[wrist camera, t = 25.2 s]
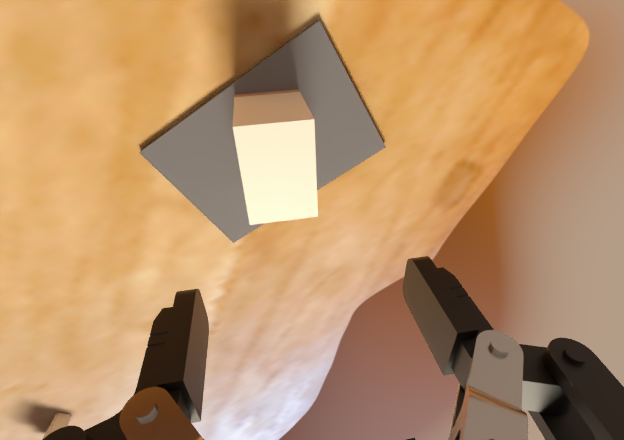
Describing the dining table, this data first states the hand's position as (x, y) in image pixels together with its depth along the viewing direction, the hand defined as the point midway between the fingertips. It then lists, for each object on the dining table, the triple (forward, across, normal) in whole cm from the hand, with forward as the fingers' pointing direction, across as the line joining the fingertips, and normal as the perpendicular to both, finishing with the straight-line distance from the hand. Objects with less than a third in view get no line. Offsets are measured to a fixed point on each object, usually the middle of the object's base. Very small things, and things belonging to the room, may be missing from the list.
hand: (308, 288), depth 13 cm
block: (+14, 0, -2) cm, 14 cm away
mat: (+22, 0, -3) cm, 22 cm away
